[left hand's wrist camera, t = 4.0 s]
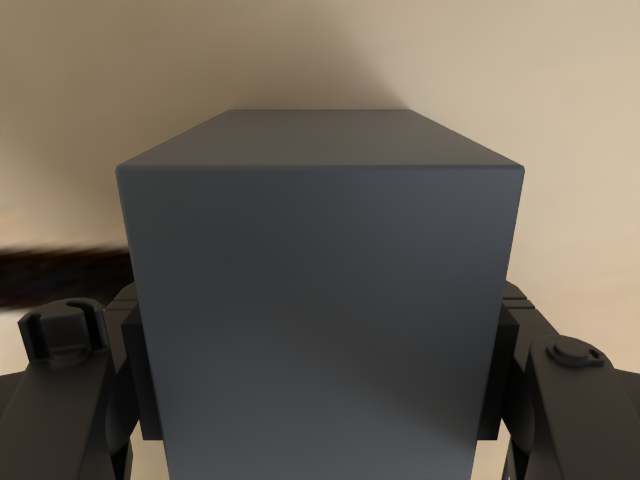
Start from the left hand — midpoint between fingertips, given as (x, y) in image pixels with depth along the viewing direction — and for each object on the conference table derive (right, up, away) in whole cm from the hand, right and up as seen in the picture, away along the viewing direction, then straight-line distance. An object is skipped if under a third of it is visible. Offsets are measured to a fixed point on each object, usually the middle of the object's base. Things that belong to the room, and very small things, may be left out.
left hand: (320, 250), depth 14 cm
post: (0, -21, +9) cm, 23 cm away
